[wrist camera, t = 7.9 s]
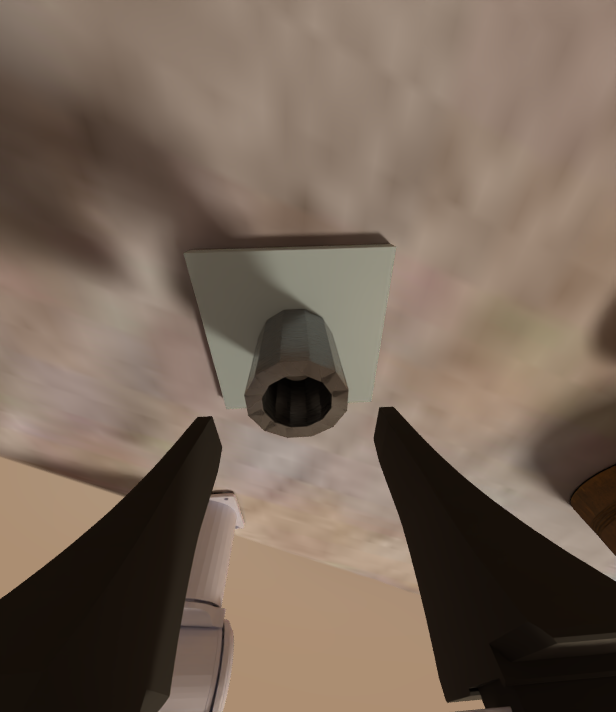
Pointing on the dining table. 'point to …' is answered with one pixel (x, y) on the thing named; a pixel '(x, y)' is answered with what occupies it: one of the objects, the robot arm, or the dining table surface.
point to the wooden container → (599, 505)
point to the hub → (296, 358)
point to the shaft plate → (292, 305)
